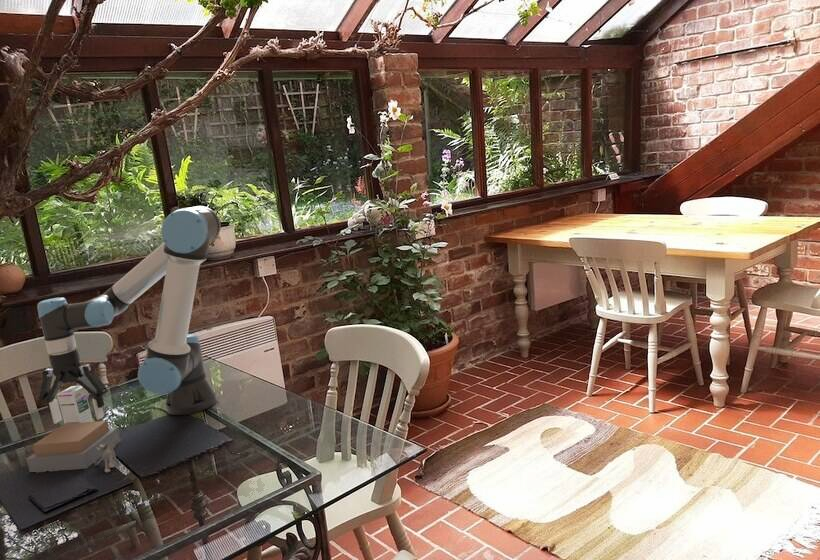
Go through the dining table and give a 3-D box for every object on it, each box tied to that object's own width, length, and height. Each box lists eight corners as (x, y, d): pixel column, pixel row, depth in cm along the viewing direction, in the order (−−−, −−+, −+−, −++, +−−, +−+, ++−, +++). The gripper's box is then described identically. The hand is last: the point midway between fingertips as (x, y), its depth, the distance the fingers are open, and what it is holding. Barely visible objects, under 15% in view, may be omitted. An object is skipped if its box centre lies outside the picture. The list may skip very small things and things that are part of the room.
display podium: (120, 440, 177) (115, 417, 176) (86, 468, 162) (80, 443, 160) (68, 445, 179) (62, 422, 178) (29, 472, 163) (23, 448, 162)
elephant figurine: (85, 479, 156) (84, 455, 163) (107, 487, 159) (104, 463, 166) (113, 450, 155) (110, 427, 162) (133, 458, 159) (130, 436, 166)
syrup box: (84, 438, 182) (73, 391, 180) (67, 439, 184) (56, 392, 181) (98, 430, 188) (87, 384, 185) (81, 430, 189) (70, 385, 187)
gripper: (110, 343, 183) (125, 411, 187) (32, 351, 186) (48, 418, 190) (95, 351, 176) (111, 421, 180) (14, 359, 179) (31, 428, 183)
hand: (79, 419), depth 185 cm, fingers open, 13 cm apart
